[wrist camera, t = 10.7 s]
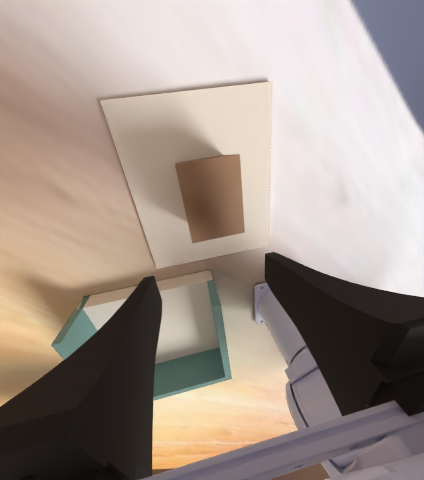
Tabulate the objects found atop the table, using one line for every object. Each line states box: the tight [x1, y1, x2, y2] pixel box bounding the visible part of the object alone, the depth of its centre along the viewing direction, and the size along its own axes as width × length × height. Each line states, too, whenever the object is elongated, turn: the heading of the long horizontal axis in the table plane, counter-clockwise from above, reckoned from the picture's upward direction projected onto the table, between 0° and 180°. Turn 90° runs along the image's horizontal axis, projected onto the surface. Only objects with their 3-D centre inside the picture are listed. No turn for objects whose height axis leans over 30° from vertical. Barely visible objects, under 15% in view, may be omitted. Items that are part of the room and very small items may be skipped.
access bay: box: [51, 270, 232, 401], centre depth 22 cm, size 16×14×6 cm
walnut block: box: [175, 154, 245, 243], centre depth 15 cm, size 4×6×5 cm
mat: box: [100, 82, 272, 269], centre depth 18 cm, size 14×16×1 cm
